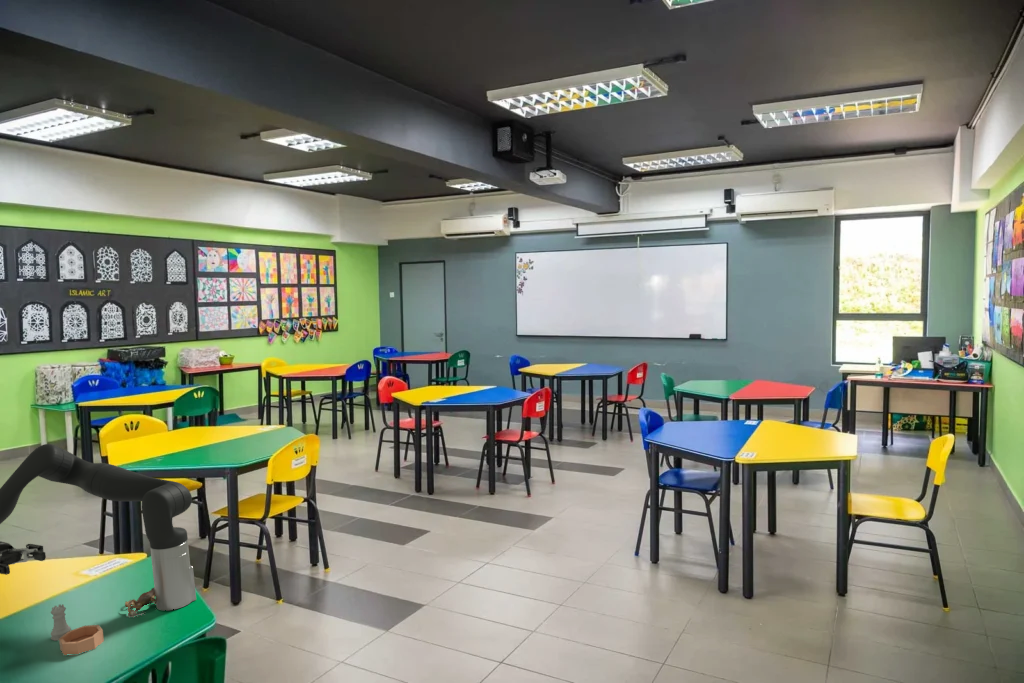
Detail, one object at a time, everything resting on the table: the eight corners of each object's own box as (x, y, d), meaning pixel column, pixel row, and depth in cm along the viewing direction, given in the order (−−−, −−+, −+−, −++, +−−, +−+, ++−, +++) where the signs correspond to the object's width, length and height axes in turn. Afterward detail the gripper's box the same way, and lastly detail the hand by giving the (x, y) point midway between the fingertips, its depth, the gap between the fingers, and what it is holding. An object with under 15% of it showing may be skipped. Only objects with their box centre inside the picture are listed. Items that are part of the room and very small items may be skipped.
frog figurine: (150, 594, 192) (148, 581, 192) (174, 602, 186) (173, 589, 186) (109, 611, 183) (107, 598, 182) (133, 621, 177) (132, 608, 176)
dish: (97, 632, 171) (96, 621, 170) (106, 644, 165) (105, 632, 164) (58, 646, 165) (56, 635, 164) (66, 659, 159) (64, 647, 158)
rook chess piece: (68, 630, 173) (64, 600, 172) (74, 635, 170) (71, 605, 169) (48, 638, 169) (44, 607, 169) (54, 643, 166) (50, 612, 166)
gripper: (-43, 551, 172) (-6, 560, 166) (16, 531, 185) (53, 539, 178) (-40, 579, 173) (-3, 589, 166) (19, 557, 186) (56, 566, 179)
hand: (26, 563), depth 172 cm, fingers open, 8 cm apart
